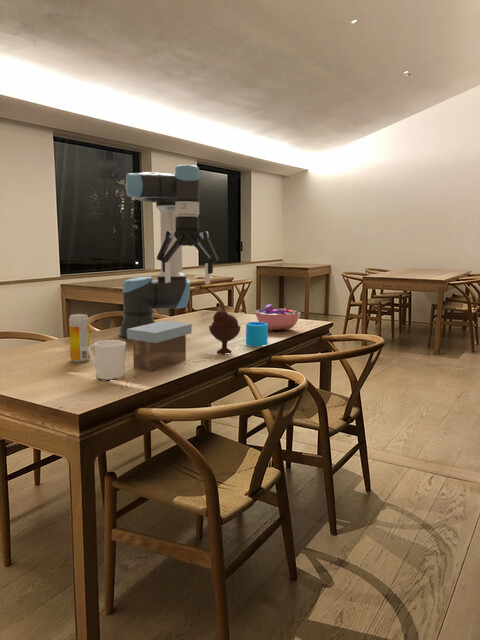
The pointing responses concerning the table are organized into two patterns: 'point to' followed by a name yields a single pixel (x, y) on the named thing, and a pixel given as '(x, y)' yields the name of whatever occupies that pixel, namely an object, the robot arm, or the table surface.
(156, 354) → the box
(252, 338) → the mug
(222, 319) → the ice cream bowl
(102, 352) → the mug
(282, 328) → the cell model
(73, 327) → the beer can
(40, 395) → the table surface
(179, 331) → the lid
